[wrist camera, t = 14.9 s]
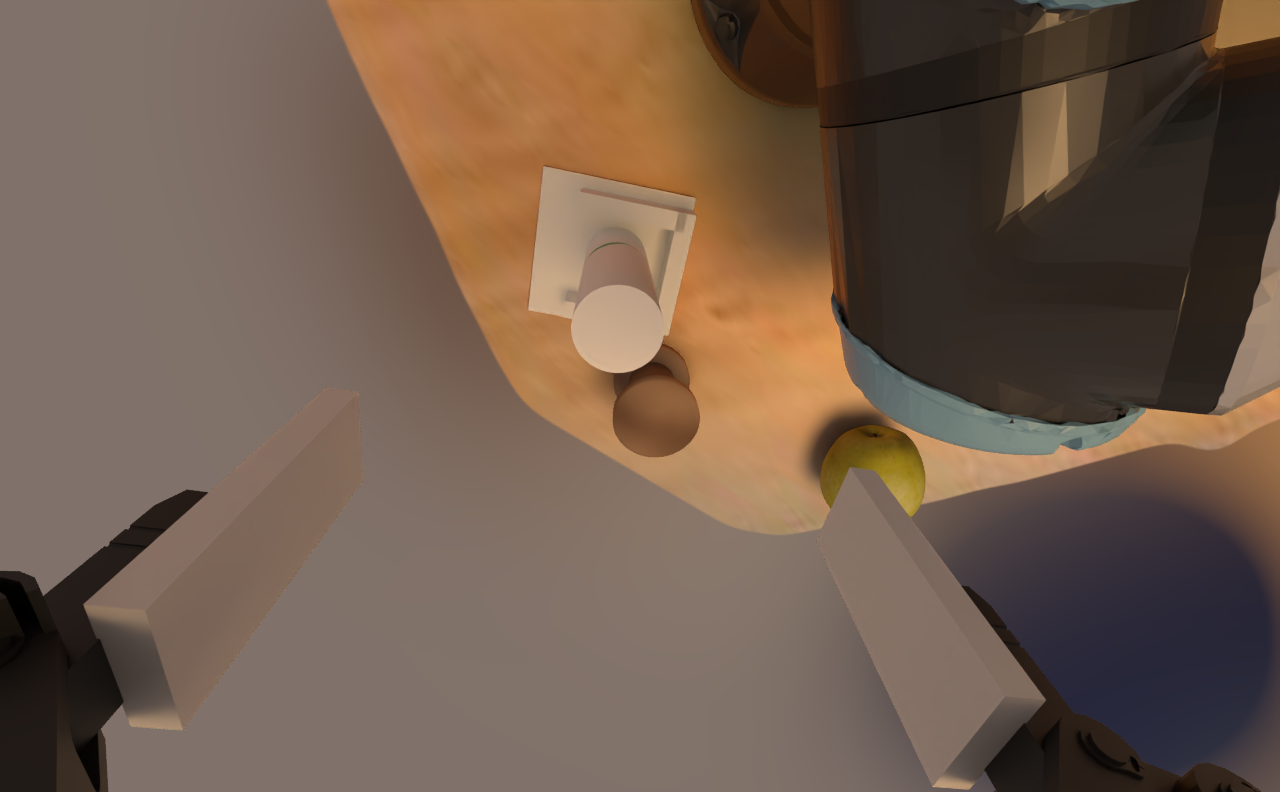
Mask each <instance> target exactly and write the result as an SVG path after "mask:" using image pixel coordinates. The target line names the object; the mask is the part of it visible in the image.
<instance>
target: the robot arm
mask: <svg viewBox="0 0 1280 792" xmlns="http://www.w3.org/2000/svg"><path fill="white" fill-rule="evenodd" d="M1222 3H1223V0H691V4H692V9H693V13H694V16H695V20H696V23H697V26H698V29H699V31H700V34H701V36H702V38H703V41H704V43H705V45H706V47H707V49H708V50H709V52H710V54H711V55H712V57H713V59H714V60H715V61H716V63H717V64H718V66H719V67H720V68H721V69H722V71H723V72H724V73H725V74H726V75H727V76H728V77H729V78H730V79H731V80H732V81H733V82H734V83H735V84H737V85H738V86H739V87H740V88H742V89H743V90H745V91H746V92H748V93H749V94H751V95H753V96H755V97H757V98H759V99H761V100H763V101H766V102H768V103H772V104H775V105H780V106H785V107H794V108H804V107H816V106H819V114H820V134H821V144H822V155H823V167H824V179H825V191H826V203H827V214H828V226H829V238H830V250H831V262H832V274H833V286H834V288H833V294H832V297H831V304H832V311H833V314H834V317H835V320H836V322H837V324H838V326H839V328H840V334H841V341H842V348H843V355H844V361H845V365H846V368H847V371H848V373H849V376H850V378H851V380H852V381H853V383H854V384H855V385H856V386H857V387H858V388H859V389H860V390H861V391H862V392H863V394H864V396H865V398H867V399H868V401H869V402H870V403H871V404H872V405H873V406H874V407H876V408H877V409H878V410H880V411H881V412H882V413H884V414H885V415H887V416H888V417H889V418H891V419H893V420H894V421H896V422H898V423H900V424H901V425H903V426H905V427H907V428H909V429H912V430H914V431H916V432H918V433H921V434H923V435H926V436H929V437H932V438H935V439H938V440H940V441H943V442H947V443H950V444H954V445H958V446H962V447H966V448H970V449H975V450H981V451H987V452H993V453H1001V454H1013V455H1048V454H1052V453H1054V452H1055V451H1056V450H1057V449H1058V448H1059V446H1060V444H1061V445H1063V446H1066V447H1068V448H1071V449H1074V450H1083V449H1087V448H1091V447H1096V446H1099V445H1101V444H1104V443H1106V442H1108V441H1110V440H1112V439H1114V438H1116V437H1118V436H1119V435H1120V434H1122V433H1123V432H1124V431H1125V430H1126V429H1127V428H1128V427H1129V426H1130V425H1131V424H1132V423H1134V422H1135V421H1136V420H1137V419H1138V418H1139V417H1140V416H1141V415H1142V414H1143V413H1144V412H1145V410H1146V408H1147V409H1158V410H1168V411H1177V412H1187V413H1196V414H1206V415H1219V416H1221V415H1224V414H1226V413H1228V412H1230V411H1232V410H1234V409H1236V408H1238V407H1240V406H1242V405H1244V404H1246V403H1248V402H1250V401H1252V400H1254V399H1256V398H1258V397H1260V396H1262V395H1264V394H1266V393H1268V392H1270V391H1272V390H1274V389H1276V388H1278V387H1280V37H1276V38H1272V39H1267V40H1262V41H1257V42H1252V43H1247V44H1243V45H1238V46H1233V47H1228V48H1223V49H1218V48H1216V47H1214V45H1215V39H1216V33H1217V29H1218V22H1219V17H1220V12H1221V7H1222ZM361 450H362V449H361V428H360V408H359V392H353V391H346V390H340V389H333V388H325V389H324V390H323V391H322V392H321V393H320V394H319V395H318V396H316V397H315V398H314V399H313V400H312V401H311V402H310V403H309V404H307V405H306V406H305V407H304V408H303V409H302V410H301V411H300V412H298V413H297V414H296V415H295V416H294V417H293V418H292V419H291V420H289V421H288V422H287V423H286V424H285V425H284V426H283V427H282V428H280V429H279V430H278V431H277V432H276V433H275V434H274V435H273V436H272V437H270V438H269V439H268V440H267V441H266V442H265V443H264V444H263V445H261V446H260V447H259V448H258V449H257V450H256V451H255V452H254V453H252V454H251V455H250V456H249V457H248V458H247V459H246V460H245V461H243V463H241V464H240V465H239V466H238V467H237V468H236V469H234V470H233V471H232V472H231V473H230V474H229V475H228V476H227V477H226V478H225V479H223V480H222V481H221V482H220V483H219V484H218V485H217V486H216V487H214V488H213V489H212V490H211V491H210V492H200V491H193V490H185V491H183V492H182V493H179V494H177V495H175V496H173V497H171V498H169V499H167V500H165V501H163V502H160V503H158V504H156V505H154V506H153V507H152V508H151V509H149V510H148V511H147V512H146V513H145V514H143V515H142V516H141V517H140V518H138V519H137V520H136V521H135V522H134V523H132V524H131V525H130V528H129V530H127V529H125V530H124V531H122V532H121V533H120V534H119V535H118V536H117V537H115V538H114V539H113V540H112V541H110V544H109V546H108V547H105V546H104V547H103V548H102V549H100V550H99V551H98V552H97V553H96V554H94V555H93V556H92V557H91V558H89V559H88V560H87V561H86V562H84V563H83V564H82V565H81V566H80V567H78V568H77V569H76V570H75V571H74V572H72V573H71V574H70V575H69V576H67V577H66V578H65V579H64V580H62V581H61V582H60V583H59V584H58V585H56V586H55V587H54V588H53V589H51V590H50V591H49V592H48V593H47V594H45V595H44V596H43V595H42V593H41V591H40V588H39V586H38V584H37V582H36V579H35V578H34V577H32V576H30V575H27V574H25V573H22V572H20V571H0V792H108V779H107V763H106V762H107V761H106V744H105V738H104V736H103V733H102V731H101V728H102V727H103V725H104V724H105V723H106V722H107V721H108V720H109V718H110V717H111V716H112V715H113V714H114V712H116V710H117V709H118V708H119V707H120V706H121V705H123V708H124V710H125V713H126V715H127V718H128V720H129V723H130V726H131V727H145V728H159V729H171V730H184V729H185V727H186V726H187V724H188V723H189V722H190V720H191V719H192V717H193V716H194V715H195V713H196V712H197V711H198V709H199V708H200V706H201V705H202V704H203V702H204V701H205V699H206V698H207V697H208V695H209V694H210V693H211V691H212V690H213V688H214V687H215V686H216V684H217V683H218V681H219V680H220V679H221V677H222V676H223V675H224V673H225V672H226V670H227V669H228V668H229V666H230V665H231V663H232V662H233V661H234V659H235V658H236V657H237V655H238V654H239V652H240V651H241V650H242V648H243V647H244V645H245V644H246V642H247V641H248V640H249V639H250V637H251V636H252V634H253V633H254V632H255V630H256V629H257V627H258V626H259V625H260V623H261V622H262V621H263V619H264V618H265V616H266V615H267V614H268V612H269V611H270V610H271V608H272V607H273V605H274V604H275V603H276V601H277V600H278V598H279V597H280V596H281V594H282V593H283V591H284V590H285V589H286V587H287V586H288V585H289V583H290V582H291V580H292V579H293V577H294V576H295V575H296V573H297V572H298V571H299V569H300V568H301V567H302V565H303V564H304V562H305V561H306V560H307V558H308V557H309V555H310V554H311V553H312V551H313V550H314V549H315V547H316V546H317V544H318V543H319V542H320V540H321V539H322V537H323V536H324V535H325V533H326V532H327V531H328V529H329V528H330V526H331V525H332V524H333V522H334V521H335V519H336V518H337V516H338V515H339V514H340V513H341V511H342V510H343V508H344V507H345V506H346V504H347V503H348V501H349V500H350V499H351V497H352V496H353V494H354V493H355V492H356V490H357V489H358V488H359V486H360V485H361V483H362V482H363V470H362V451H361ZM816 542H817V544H818V546H819V549H820V551H821V553H822V555H823V557H824V559H825V561H826V563H827V565H828V567H829V569H830V572H831V574H832V576H833V578H834V580H835V582H836V584H837V586H838V589H839V591H840V593H841V595H842V597H843V599H844V601H845V603H846V605H847V607H848V609H849V612H850V614H851V616H852V618H853V620H854V622H855V624H856V626H857V629H858V631H859V633H860V635H861V637H862V639H863V641H864V643H865V645H866V648H867V649H868V652H869V654H870V656H871V658H872V660H873V662H874V664H875V666H876V668H877V671H878V673H879V675H880V677H881V679H882V681H883V683H884V685H885V687H886V690H887V692H888V694H889V696H890V698H891V700H892V702H893V704H894V707H895V709H896V711H897V713H898V715H899V717H900V719H901V721H902V723H903V726H904V728H905V730H906V732H907V734H908V736H909V738H910V740H911V742H912V744H913V747H914V749H915V751H916V753H917V755H918V757H919V759H920V761H921V763H922V765H923V768H924V769H925V772H926V774H927V776H928V778H929V780H930V782H931V785H932V786H933V787H943V788H957V789H970V788H971V787H972V786H973V784H974V783H975V782H976V781H977V780H978V778H979V777H980V776H981V775H982V774H983V773H984V772H985V771H986V773H987V775H988V777H989V778H990V780H991V782H992V784H993V785H994V787H995V789H996V790H995V791H994V792H1261V791H1260V790H1258V789H1257V788H1256V787H1253V785H1251V784H1250V783H1249V782H1247V781H1246V780H1244V779H1243V778H1241V777H1239V776H1237V775H1235V774H1234V773H1232V772H1230V771H1228V770H1226V769H1225V768H1222V767H1219V766H1216V765H1213V764H1210V763H1202V764H1197V765H1195V766H1194V767H1193V768H1192V769H1191V770H1190V771H1188V772H1187V773H1186V774H1185V775H1184V776H1183V777H1181V776H1178V775H1176V774H1173V773H1170V772H1168V771H1165V770H1163V769H1160V768H1158V767H1155V766H1153V765H1150V764H1147V763H1145V762H1143V761H1142V760H1141V759H1140V757H1139V756H1138V755H1137V753H1136V752H1135V751H1134V750H1133V749H1132V748H1131V747H1130V746H1129V745H1128V744H1127V743H1126V742H1125V741H1124V740H1123V739H1122V738H1121V737H1120V736H1119V735H1117V734H1116V733H1114V732H1113V731H1112V730H1110V729H1109V728H1107V727H1106V726H1105V725H1103V724H1102V723H1100V722H1098V721H1096V720H1093V719H1091V718H1089V717H1087V716H1085V715H1080V714H1075V713H1073V711H1072V710H1071V709H1070V707H1069V706H1068V705H1067V704H1066V702H1065V701H1064V700H1063V699H1062V697H1061V696H1060V695H1059V693H1058V692H1057V691H1056V689H1055V688H1054V687H1053V685H1052V684H1051V683H1050V682H1049V680H1048V679H1047V678H1046V677H1045V675H1044V674H1043V673H1042V671H1041V670H1040V669H1039V667H1038V666H1037V665H1036V664H1035V662H1034V661H1033V660H1032V659H1031V657H1030V656H1029V655H1028V653H1027V652H1026V651H1025V649H1024V648H1021V647H1020V645H1019V644H1020V643H1019V642H1018V640H1017V639H1016V638H1015V636H1014V635H1013V634H1012V633H1011V631H1009V630H1007V629H1006V625H1005V624H1004V622H1003V621H1002V620H1001V618H1000V617H999V616H998V615H997V613H996V612H995V611H994V610H993V608H992V607H991V606H990V605H989V604H988V603H987V602H986V601H985V600H984V599H982V598H981V597H980V596H979V595H978V594H977V593H975V592H974V591H973V590H972V589H971V588H970V587H967V586H961V585H960V584H959V583H958V581H957V580H956V578H955V577H954V576H953V574H952V573H951V572H950V570H949V569H948V568H947V566H946V565H945V564H944V562H943V561H942V560H941V558H940V557H939V556H938V554H937V553H936V552H935V550H934V549H933V548H932V546H931V545H930V543H929V542H928V541H927V539H926V538H925V537H924V535H923V534H922V533H921V531H920V530H919V529H918V527H917V526H916V525H915V523H914V522H913V521H912V519H911V518H910V517H909V515H908V514H907V513H906V511H905V510H904V509H903V507H902V506H901V505H900V503H899V502H898V500H897V499H896V498H895V496H894V495H893V494H892V492H891V491H890V490H889V488H888V487H887V486H886V484H885V483H884V482H883V480H882V479H881V478H880V476H879V475H878V474H877V472H876V471H874V470H867V469H860V468H854V467H850V468H849V470H848V472H847V475H846V477H845V479H844V481H843V483H842V486H841V488H840V490H839V492H838V494H837V497H836V499H835V501H834V503H833V505H832V508H831V510H830V512H829V514H828V516H827V519H826V521H825V523H824V525H823V527H822V530H821V532H820V534H819V536H818V538H817V541H816Z"/></svg>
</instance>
